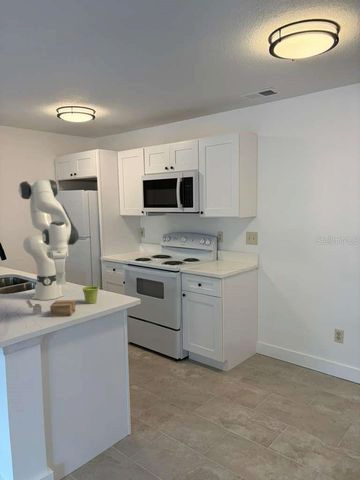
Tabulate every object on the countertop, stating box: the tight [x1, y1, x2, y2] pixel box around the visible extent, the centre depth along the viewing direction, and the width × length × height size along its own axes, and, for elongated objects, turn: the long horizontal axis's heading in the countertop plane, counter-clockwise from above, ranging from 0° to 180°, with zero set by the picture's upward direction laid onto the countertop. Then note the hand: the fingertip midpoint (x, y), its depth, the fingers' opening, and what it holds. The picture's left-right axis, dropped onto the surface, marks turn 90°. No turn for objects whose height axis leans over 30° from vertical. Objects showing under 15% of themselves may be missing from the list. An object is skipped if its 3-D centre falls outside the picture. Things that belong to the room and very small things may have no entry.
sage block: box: [56, 270, 67, 286], centre depth 187 cm, size 4×4×6 cm
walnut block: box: [49, 299, 76, 318], centre depth 188 cm, size 10×10×6 cm
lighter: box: [25, 299, 43, 316], centre depth 188 cm, size 7×2×8 cm, turn 111°
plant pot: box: [81, 285, 100, 305], centre depth 208 cm, size 9×9×9 cm
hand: (60, 279), depth 187 cm, fingers closed on sage block, 4 cm apart
